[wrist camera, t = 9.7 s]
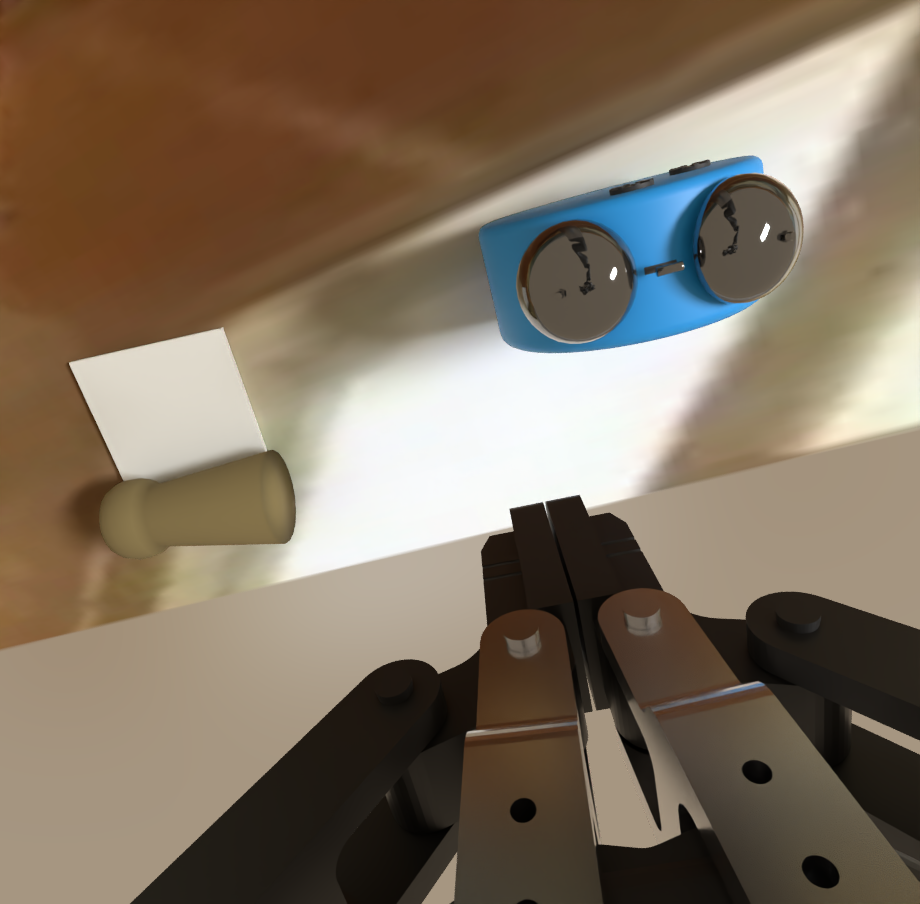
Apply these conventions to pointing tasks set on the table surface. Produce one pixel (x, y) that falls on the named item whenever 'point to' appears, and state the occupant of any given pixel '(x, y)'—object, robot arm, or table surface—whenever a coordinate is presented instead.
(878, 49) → the table surface
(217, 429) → the mat
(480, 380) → the table surface
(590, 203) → the alarm clock
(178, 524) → the cork
